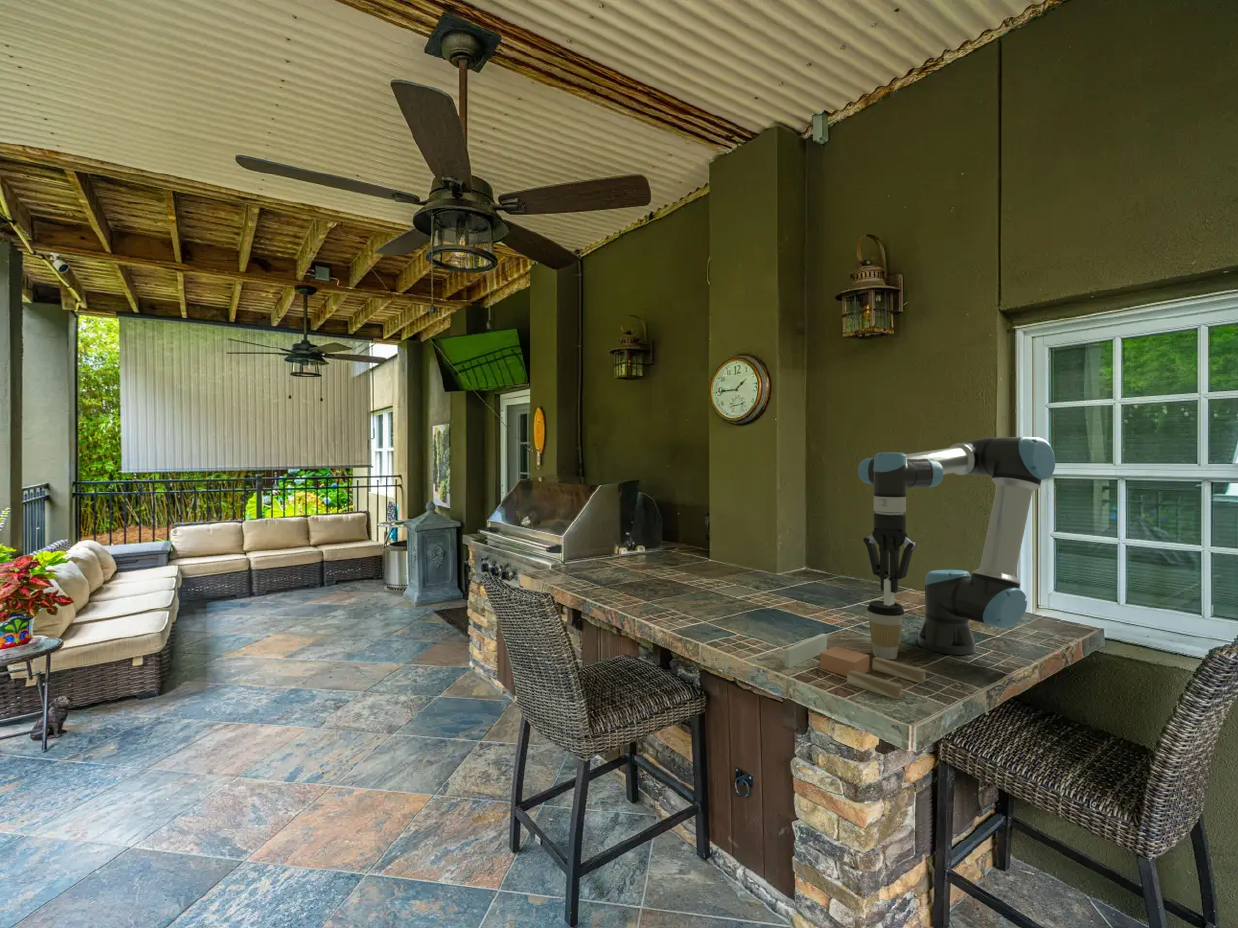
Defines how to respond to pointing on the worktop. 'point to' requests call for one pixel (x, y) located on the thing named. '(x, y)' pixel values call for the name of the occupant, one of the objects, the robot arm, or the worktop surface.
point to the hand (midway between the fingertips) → (889, 604)
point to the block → (843, 661)
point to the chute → (884, 685)
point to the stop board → (805, 650)
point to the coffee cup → (885, 628)
